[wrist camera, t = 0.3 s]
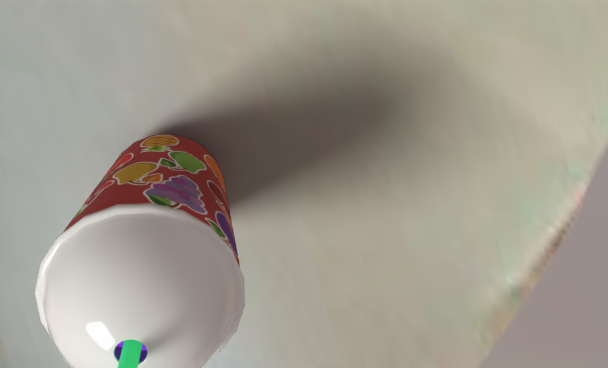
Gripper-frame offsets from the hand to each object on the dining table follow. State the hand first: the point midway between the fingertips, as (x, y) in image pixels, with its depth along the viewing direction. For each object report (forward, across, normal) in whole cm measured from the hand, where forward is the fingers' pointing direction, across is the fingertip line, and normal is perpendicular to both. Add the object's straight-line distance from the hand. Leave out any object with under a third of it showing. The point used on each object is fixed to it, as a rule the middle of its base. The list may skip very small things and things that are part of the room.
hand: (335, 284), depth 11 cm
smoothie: (+26, -7, -6) cm, 28 cm away
